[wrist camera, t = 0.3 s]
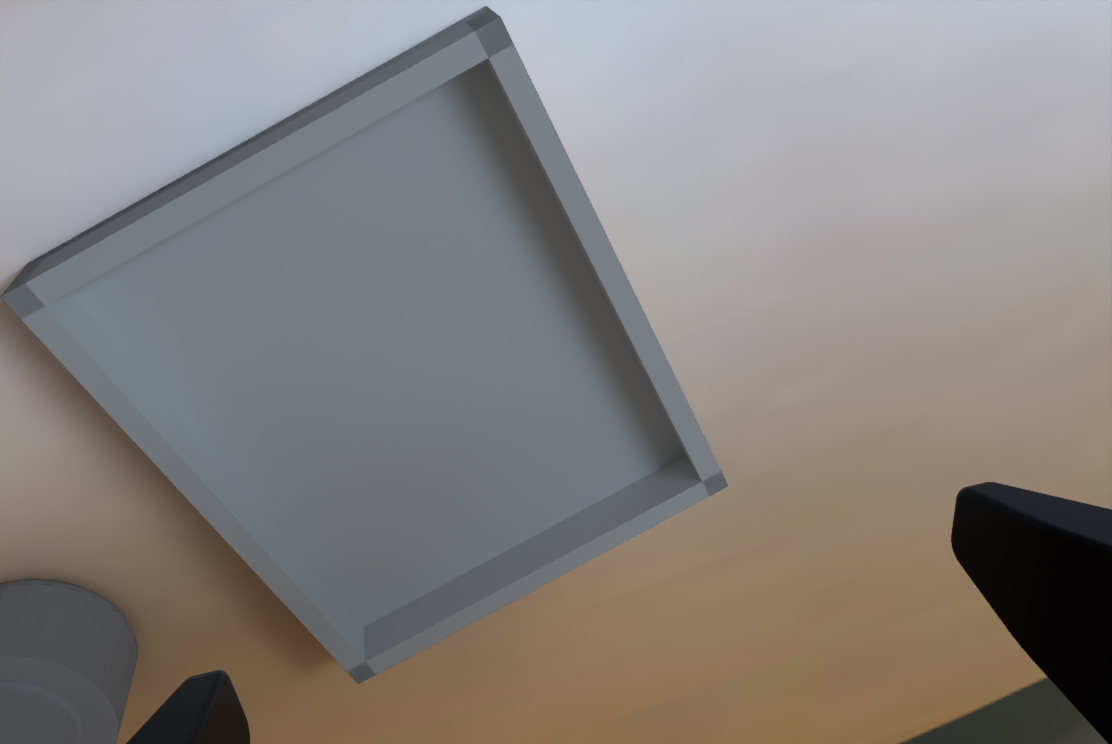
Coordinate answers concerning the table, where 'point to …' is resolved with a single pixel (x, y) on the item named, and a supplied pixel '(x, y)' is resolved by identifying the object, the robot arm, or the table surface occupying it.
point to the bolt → (62, 664)
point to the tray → (385, 352)
